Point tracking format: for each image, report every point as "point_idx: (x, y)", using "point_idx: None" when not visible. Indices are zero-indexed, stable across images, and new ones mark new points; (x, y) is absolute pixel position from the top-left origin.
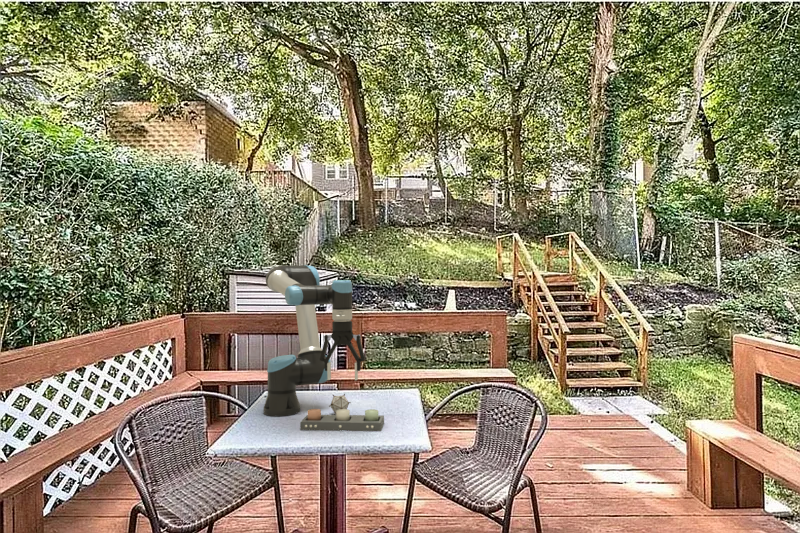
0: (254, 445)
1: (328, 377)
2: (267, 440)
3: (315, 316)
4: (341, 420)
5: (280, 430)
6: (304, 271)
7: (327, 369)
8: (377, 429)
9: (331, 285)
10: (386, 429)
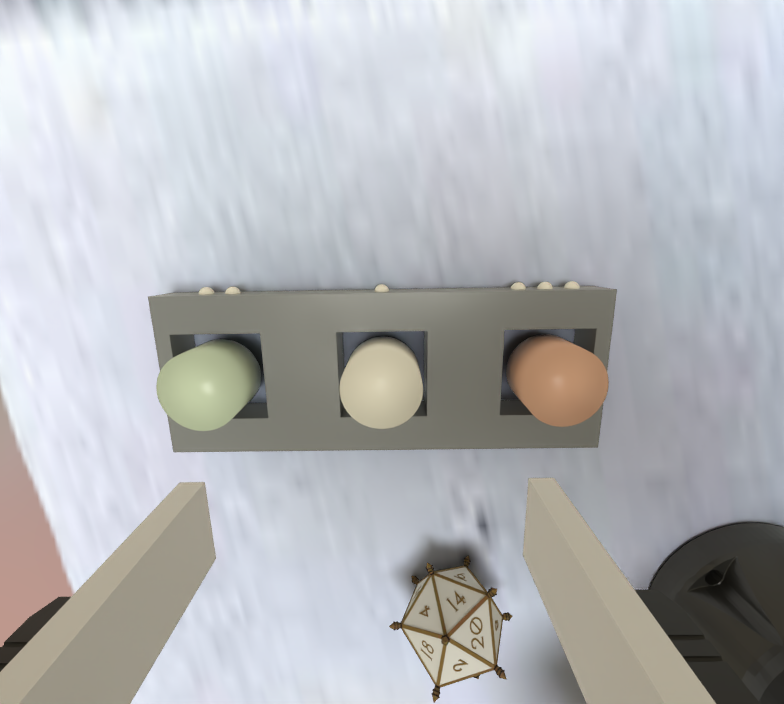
0: None
1: (554, 499)
2: (744, 67)
3: None
4: (383, 338)
5: (697, 274)
6: None
7: (633, 591)
8: (186, 293)
9: None
10: None
